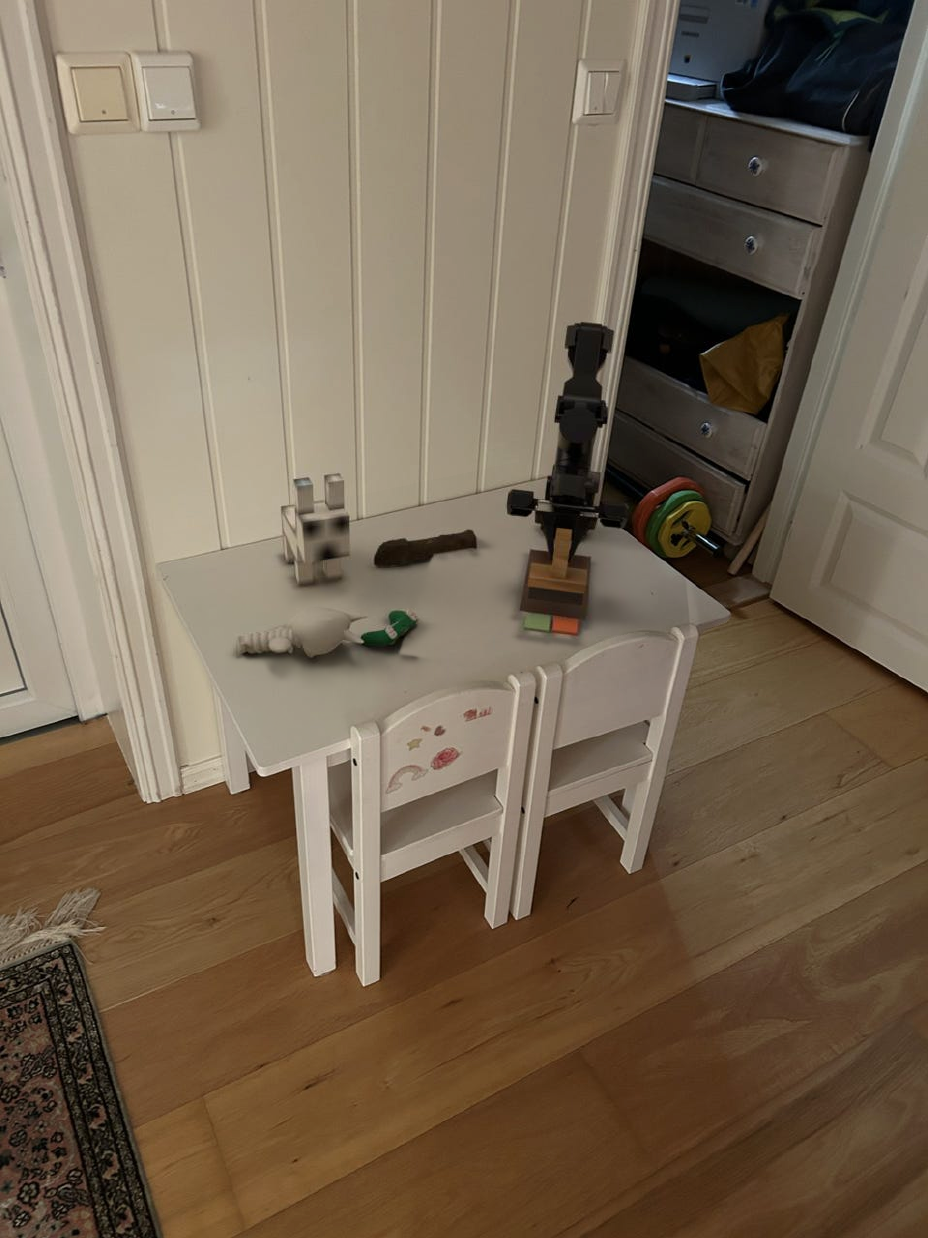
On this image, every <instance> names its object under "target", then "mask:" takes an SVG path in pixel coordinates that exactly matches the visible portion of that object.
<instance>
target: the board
mask: <svg viewBox="0 0 928 1238" xmlns="http://www.w3.org/2000/svg"><path fill="white" fill-rule="evenodd" d="M591 561H592V556H588V555H579V554H574V556H573V559H572V561H571V563H570V564H568V565H567V567H570V568H577V569H585V570H587V581H586V589H585V594H583V599H582V605H575V604H567V603H559V602H552V601H544V600H537V599H529V598H528V592H529V586H528V581H529V574H530V568H531V563H538V564H546V565H552V561H550V559H549V553H548V550H542V549H541V550H540V549H533V548H531V549H529V555H528V560H527V564H526V571H525V576H524V583H523V587H522V591H521V592H522V594H521V599H520V603H519V610H518V611H519V612H523V613H530V614H537V615H545V616H553V617H554V616H560V617H568V618H576V619H579V620H583V621H584V620H585V621H586V620H587V618H588V617H587V614H588V603H589V590H590V589H589V588H590V576H591V574H590V573H591Z"/></svg>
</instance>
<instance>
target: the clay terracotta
mask: <svg viewBox="0 0 928 1238" xmlns="http://www.w3.org/2000/svg"><path fill="white" fill-rule="evenodd" d="M579 620H580V619H576V618H568V617H561V616H553V619H552V629H551V633H552V634H553V633H554V634H559V635H560V634H561V635H568V636H575V637H577V636H578V631H579Z"/></svg>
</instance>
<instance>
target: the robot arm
mask: <svg viewBox="0 0 928 1238" xmlns="http://www.w3.org/2000/svg"><path fill="white" fill-rule="evenodd" d="M614 336H615V330H614V329H611V328H609V326H608V325H604V324H602V323H599V322H598V323H597V322H588V321H580V322H574V324H569V325H567V326H566V332H565V338H564V339H565V340H564V350H567V359H566V360H567V363H568V366H569V368H570V370H571V372H572V376H571V377H570V378H569V379H567V380H566V381H565V382H564V383H563V390H562V394H561V395H559V394H558V395H557V399H556V405H555V411H554V420H553V421H554V422H553V423H555V424H558V431H557V432H558V433H557V444H556V452H555V459H554V464H553V465H552V468H551V469H552V470H551V475H547V477H546V486H545V493H544V498H543V499H542V498H535V491H533V490H532V491H531V490H523V489H515V488H512V489H511V490H510V491H508V494H507V499H506V512H507V515H509V516H513V517H514V516H515V517H521V518H522V517H523V518H528V517H529V516H530V515H531V514H533V512H534V524H537V525H538V524H539V525H540V527H539V529H540V530H541V531H542V532H543V535H544V537H545V542H546V548H547V551H548V553H549V559H550V561H553V553H554V545H555V538H556V530H557V528H562V529H570V530H572V537H571V544H570V551H569V558H568V564H570V563H571V561H572V559H573V556H574V555H576V552H577V551H578V548H579V546H580V544H581V542H582V541H583V539H584V538H585V537H586V536H587V534H588V532H589V531H595V530H596V528H597V524H598V521H599V522H600V523H601V526H603V527H604V528H611V529H617V530H619V529H625V527H626V526H627V525H626V524H627V522H628V518H629V511H630V506H629V505H628V504H627V502H625V501H623V502H622V501H615V500H607V499H604V500H603V503H602V506H599V505H594V504H595V503H594V502H595V497H596V494H599V489H600V484H601V474H602V472H601V471H600V472H599V471H592V462H593V454H594V446H595V443H596V438H597V435H598V429H603V426H604V425H608V419H609V407H608V405H607V402H606V400H605V399H602V398H603V385H602V384H601V383H600V382H599V380H598V379H597V376H598V375H599V373H600V371H601V370H602V369H603V368H604V366H605V364H606V361H607V357H608V356H607V355H608V354H612V349H613V342H614Z"/></svg>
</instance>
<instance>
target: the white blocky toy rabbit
mask: <svg viewBox="0 0 928 1238" xmlns="http://www.w3.org/2000/svg"><path fill="white" fill-rule="evenodd" d="M292 481H293V482H292V486H293V504H287V505H281V506H280V514H281V515H280V516H281V530H282V531H281V532H282V546H283V557H284V559H285V561H286V563H287V564H293V568H294V580H295V582H296V584H297V586H298V587H302V586H307V585H313V584H314V567H313V563H316V562H317V563H318V562H322V571H323V572H322V573H323V575H324V578H325V579H326V581H327V582H331V581H338V580H341V579H342V577H343V576H342V575H343V573H342V558H347V557H350V556H351V543H350V541H351V539H350V536H351V535H350V532H351V531H350V514H349V513H348V511H347V510H346V508H345V506H346V505H345V479H344V478H343V476H342V474H341V473H340V472H337V473H330V474H324V475H323V482H324V499H323V500H316V501H314V500H315V499H314V484H313V482H312V480H311V478H310V476H307V477H299V478H293V479H292Z"/></svg>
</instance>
